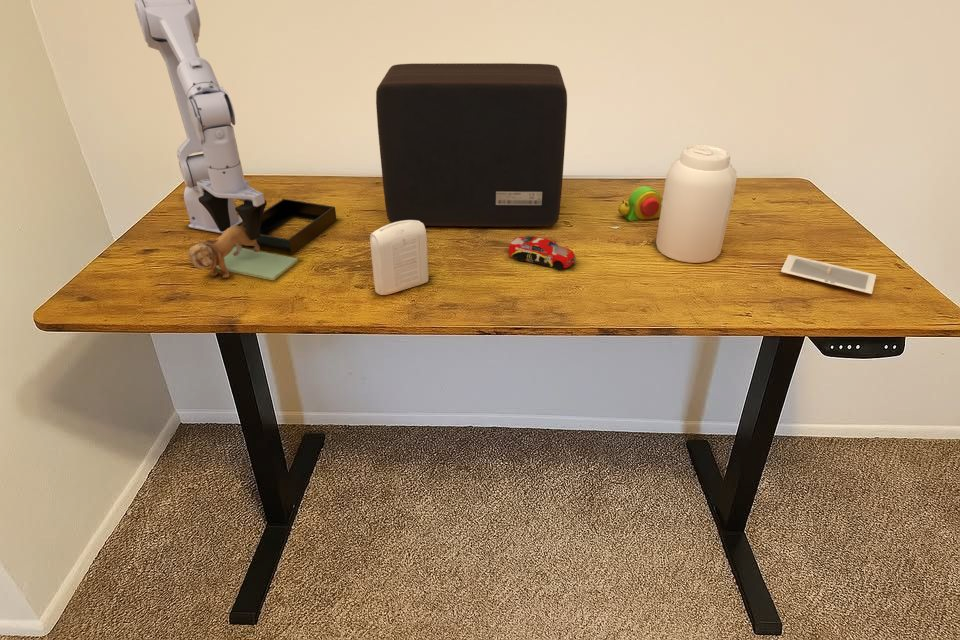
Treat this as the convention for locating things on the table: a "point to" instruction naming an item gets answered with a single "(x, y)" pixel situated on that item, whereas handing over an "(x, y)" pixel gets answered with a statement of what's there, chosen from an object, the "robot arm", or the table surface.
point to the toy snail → (642, 204)
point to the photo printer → (399, 256)
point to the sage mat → (258, 263)
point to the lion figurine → (220, 250)
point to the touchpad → (829, 273)
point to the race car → (541, 252)
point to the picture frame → (284, 213)
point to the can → (696, 204)
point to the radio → (472, 143)
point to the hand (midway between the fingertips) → (239, 233)
